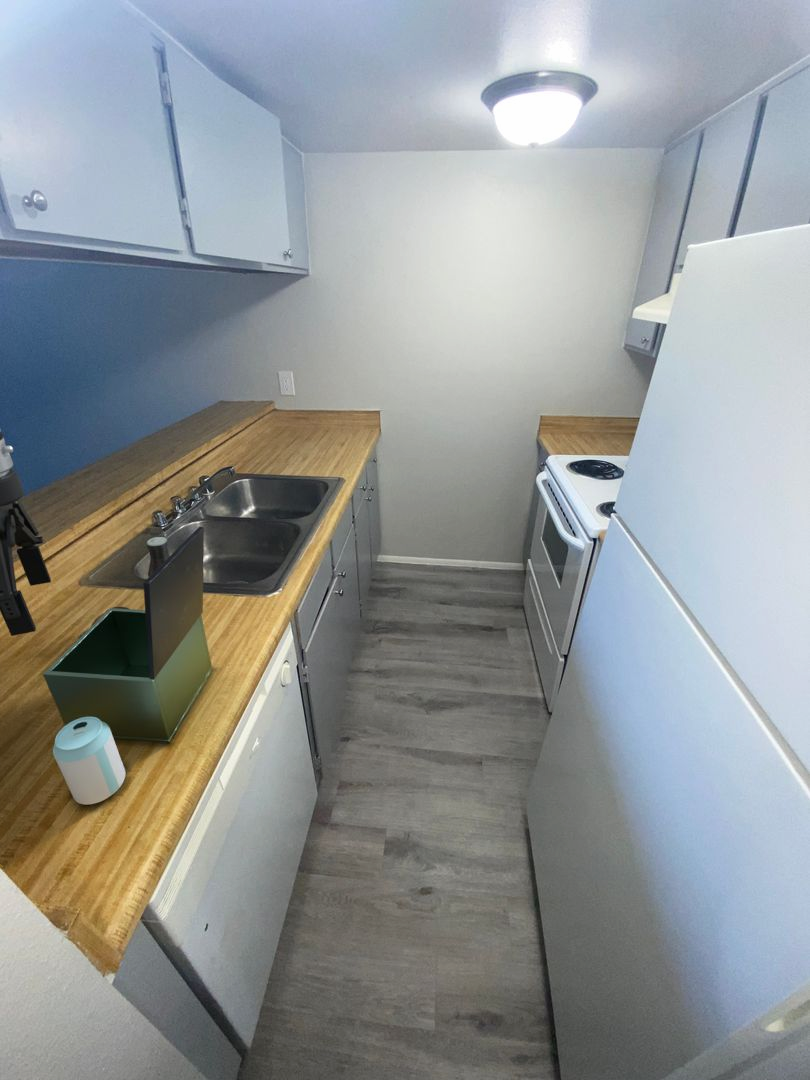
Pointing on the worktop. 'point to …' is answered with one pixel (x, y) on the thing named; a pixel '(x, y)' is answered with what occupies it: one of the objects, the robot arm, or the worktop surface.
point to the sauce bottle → (157, 553)
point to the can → (89, 760)
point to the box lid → (173, 600)
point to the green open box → (129, 678)
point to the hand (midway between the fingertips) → (33, 605)
